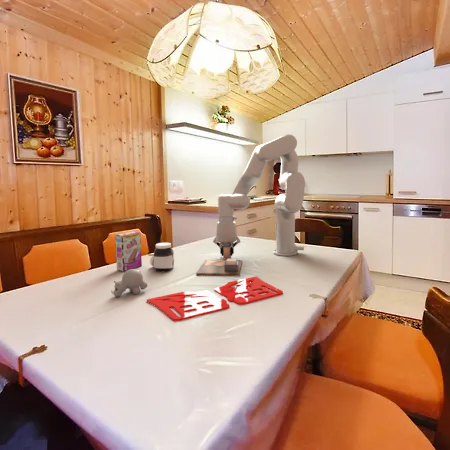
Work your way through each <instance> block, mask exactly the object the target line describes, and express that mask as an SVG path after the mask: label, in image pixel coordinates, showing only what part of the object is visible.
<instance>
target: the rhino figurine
mask: <svg viewBox="0 0 450 450" xmlns="http://www.w3.org/2000/svg"><path fill="white" fill-rule="evenodd" d="M113 283H114V289H111V290H110V292H111V294H112V295H113V296H114V297H116V298H119V297H121V296H122V294H123V293H124V292H126V291H127V290H128V289H129V292H131V293H133V294H134V295H137V294H139V293H140V292H141V290H145V289H146V288H148V283H147V282H146V281H145V280H144V277H143V274H142V272H141V270H138V269H136V268H134V269H129V270H127V271H125V272H123V274H122V276H121V280H119V281H116V280H114V281H113Z"/></svg>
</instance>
